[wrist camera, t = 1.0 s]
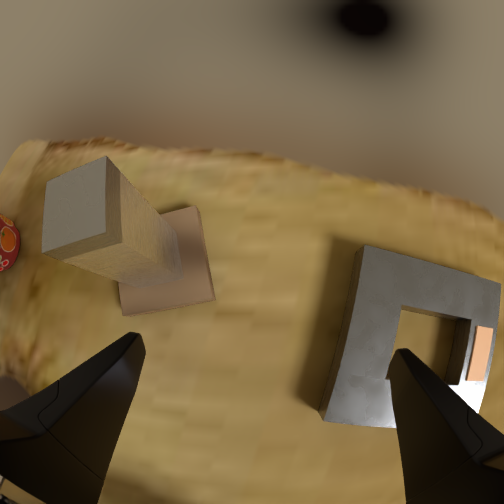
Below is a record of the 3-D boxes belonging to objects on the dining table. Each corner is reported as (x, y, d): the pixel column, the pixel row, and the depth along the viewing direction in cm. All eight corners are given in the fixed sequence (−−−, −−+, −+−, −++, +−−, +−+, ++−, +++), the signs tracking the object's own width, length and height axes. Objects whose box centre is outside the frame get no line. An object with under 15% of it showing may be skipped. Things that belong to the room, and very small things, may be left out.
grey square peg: (183, 278, 22) (105, 231, 11) (139, 288, 22) (41, 253, 11) (176, 232, 23) (106, 155, 12) (134, 243, 23) (46, 181, 12)
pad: (215, 299, 23) (212, 298, 22) (130, 316, 23) (122, 315, 22) (199, 212, 25) (195, 205, 24) (121, 232, 25) (113, 227, 24)
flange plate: (460, 420, 19) (474, 426, 16) (318, 411, 21) (323, 421, 18) (486, 287, 22) (502, 283, 19) (355, 252, 24) (365, 243, 21)
